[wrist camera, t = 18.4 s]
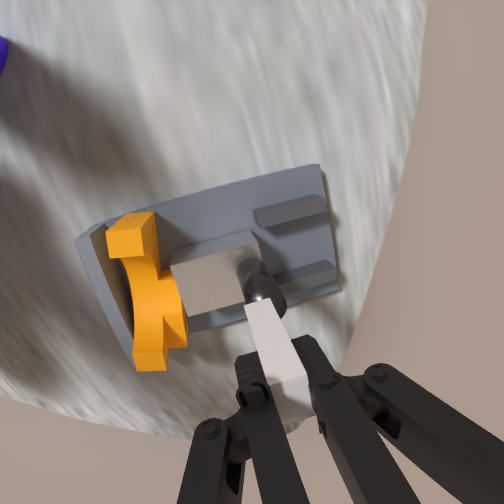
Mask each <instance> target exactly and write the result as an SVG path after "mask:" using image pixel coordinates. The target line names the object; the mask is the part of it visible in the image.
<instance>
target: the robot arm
mask: <svg viewBox="0 0 504 504" xmlns="http://www.w3.org/2000/svg"><path fill="white" fill-rule="evenodd" d="M244 309H245V312H246V315H247V319H248V322H249V325H250V329H251V332H252V335H253V338H254V342H255V345H256V348H257V351H256V352H252V353H249V354H245V355H242V356H238V357H237V359H236V362H235V364H234V365H235V370H236V375H237V380H238V385H239V388H238V390H237V391H236V398H237V401H238V403H239V405H240V409H239V411H238V412H237V413H236V414H235V415H233V416H232V417H230V418H228V419H226V420H224V421H223V420H221V419H217V418H211V419H207V420H205V421H203V422H201V423H200V424H199V425H198V426H197V428H196V430H195V432H194V436H193V440H192V444H191V448H190V452H189V456H188V460H187V464H186V468H185V472H184V476H183V480H182V484H181V488H180V492H179V497H178V500H177V504H241V501H242V491H243V483H244V473H245V464H246V463H245V462H246V460H248V459H250V458H252V461H253V465H254V469H255V474H256V478H257V483H258V487H259V491H260V495H261V499H262V503H263V504H310V503H309V500H308V497H307V494H306V492H305V489H304V486H303V483H302V480H301V478H300V474H299V472H298V469H297V466H296V463H295V460H294V457H293V454H292V452H291V449H290V446H289V443H288V440H287V437H286V434H285V431H284V428H283V426H284V425H287V424H290V423H293V422H296V421H300V420H303V419H306V418H308V417H311V416H314V415H315V414H316V416H317V420H318V426H319V432H320V433H322V434H323V436H324V438H325V441H326V443H327V445H328V447H329V449H330V452H331V454H332V456H333V458H334V461H335V463H336V465H337V467H338V470H339V472H340V474H341V476H342V478H343V481H344V483H345V485H346V487H347V489H348V492H349V494H350V496H351V498H352V500H353V503H354V504H421V503H420V501H419V500H418V498H417V496H416V495H415V493H414V492H413V490H412V488H411V486H410V485H409V483H408V481H407V480H406V478H405V476H404V475H403V473H402V472H401V470H400V468H399V467H398V465H397V463H396V462H395V460H394V458H393V457H392V455H391V454H390V452H389V450H388V449H387V447H386V445H385V444H384V442H383V441H382V439H381V438H380V436H379V434H378V432H379V433H380V434H381V435H382V436H383V437H384V438H386V439H387V440H388V441H389V442H390V443H391V444H392V445H393V446H395V447H396V448H397V449H398V450H399V451H400V452H401V453H403V454H404V455H405V456H406V457H407V458H408V459H410V460H411V461H412V462H413V463H414V464H415V465H416V466H418V467H419V468H420V469H421V470H422V471H424V472H425V473H426V474H427V475H428V476H429V477H431V478H432V479H433V480H434V481H435V482H437V483H438V484H439V485H440V486H441V487H443V488H444V489H445V490H446V491H448V492H449V493H450V494H451V495H453V496H454V497H455V498H456V499H458V500H459V501H460V502H461V503H463V504H504V442H503V441H501V440H500V439H499V438H497V437H496V436H494V435H492V434H491V433H489V432H488V431H486V430H485V429H483V428H482V427H480V426H479V425H477V424H476V423H474V422H473V421H471V420H470V419H468V418H467V417H466V416H464V415H463V414H461V413H459V412H458V411H457V410H455V409H454V408H452V407H451V406H449V405H448V404H446V403H445V402H443V401H442V400H440V399H439V398H437V397H436V396H434V395H433V394H432V393H430V392H429V391H427V390H426V389H424V388H423V387H421V386H420V385H418V384H417V383H415V382H414V381H412V380H411V379H410V378H408V377H407V376H405V375H404V374H402V373H401V372H399V371H398V370H396V369H395V368H394V367H392V366H390V365H388V364H384V363H379V364H374V365H372V366H370V367H368V368H367V369H366V370H365V372H364V375H359V376H351V377H347V376H343V375H341V374H340V373H338V372H336V371H335V370H334V369H333V367H332V366H331V364H330V362H329V361H328V359H327V357H326V356H325V354H324V352H323V351H322V349H321V348H320V346H319V344H318V343H317V341H316V340H315V338H313V337H311V336H309V335H308V334H307V335H304V336H301V337H298V338H295V339H292V340H290V338H289V336H288V334H287V332H286V330H285V328H284V326H283V324H282V322H281V320H280V318H279V316H278V314H277V312H276V310H275V308H274V306H273V304H272V302H271V299H270V298H267V299H264V300H260V301H257V302H254V303H250V304H247V305H244ZM314 412H315V414H314ZM376 430H377V431H378V432H377V431H376Z"/></svg>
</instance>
